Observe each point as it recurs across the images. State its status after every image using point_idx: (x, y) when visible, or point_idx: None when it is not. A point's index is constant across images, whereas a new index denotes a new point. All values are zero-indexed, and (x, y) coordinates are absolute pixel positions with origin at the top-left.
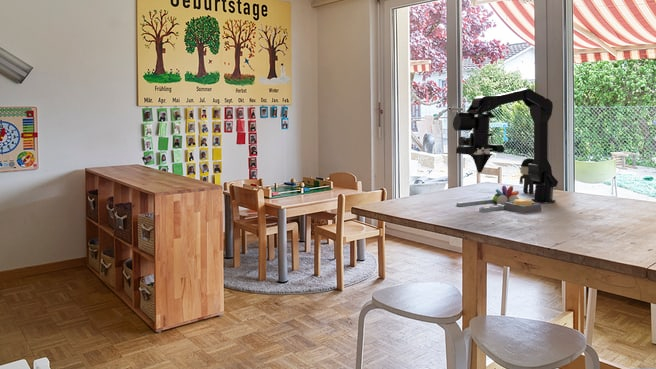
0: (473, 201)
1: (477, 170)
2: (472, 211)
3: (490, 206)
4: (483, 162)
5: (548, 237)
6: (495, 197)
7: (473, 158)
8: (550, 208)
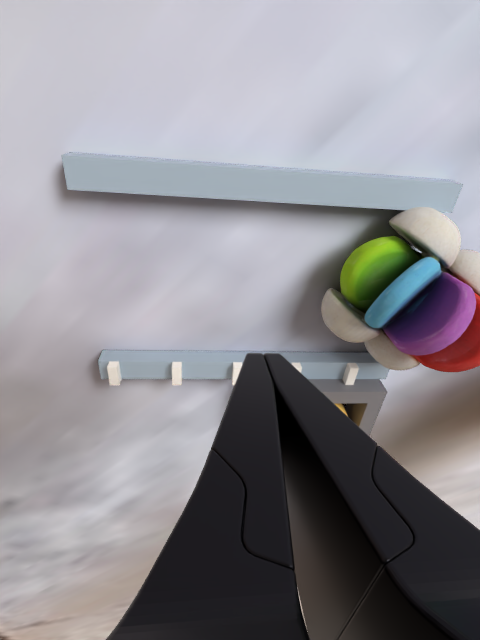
0: (217, 192)
1: (243, 366)
2: (63, 339)
3: (172, 371)
4: (295, 567)
5: (59, 602)
6: (348, 281)
7: (141, 605)
8: (423, 429)
